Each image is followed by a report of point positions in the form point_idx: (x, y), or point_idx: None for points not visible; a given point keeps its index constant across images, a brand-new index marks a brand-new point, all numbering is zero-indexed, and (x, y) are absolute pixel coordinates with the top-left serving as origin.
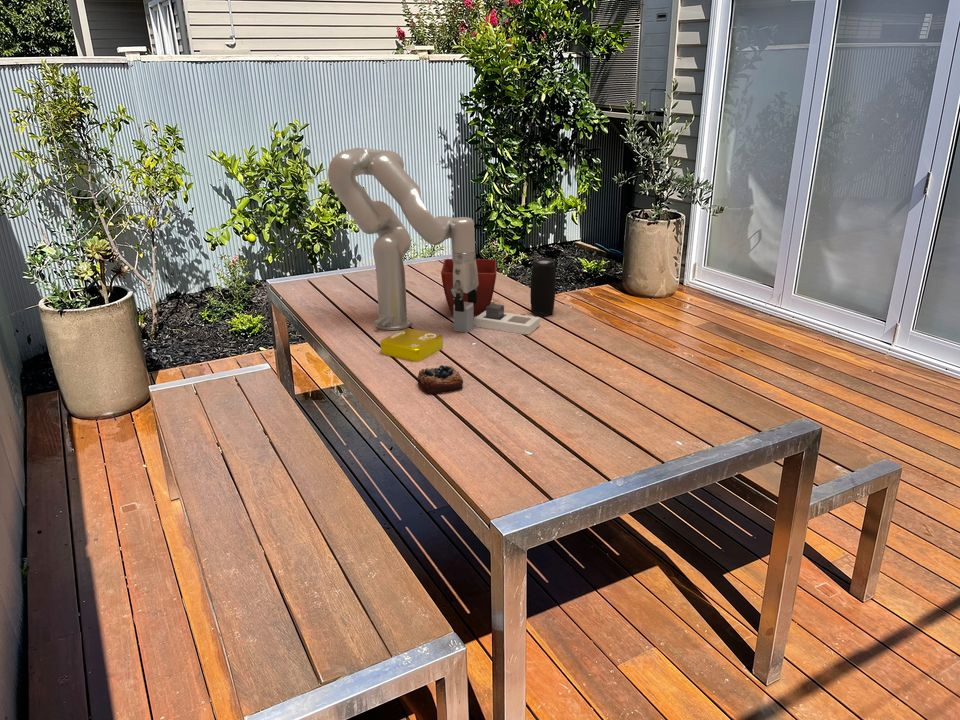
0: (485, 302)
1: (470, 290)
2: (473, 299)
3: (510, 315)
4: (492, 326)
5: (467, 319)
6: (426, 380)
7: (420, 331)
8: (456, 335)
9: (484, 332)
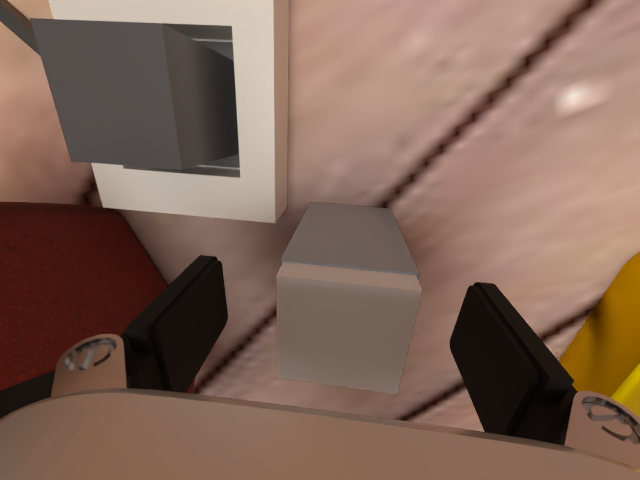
0: (56, 232)
1: (487, 456)
2: (208, 298)
3: None
4: (284, 83)
5: (395, 235)
6: None
7: (636, 401)
8: (446, 243)
9: (355, 115)
